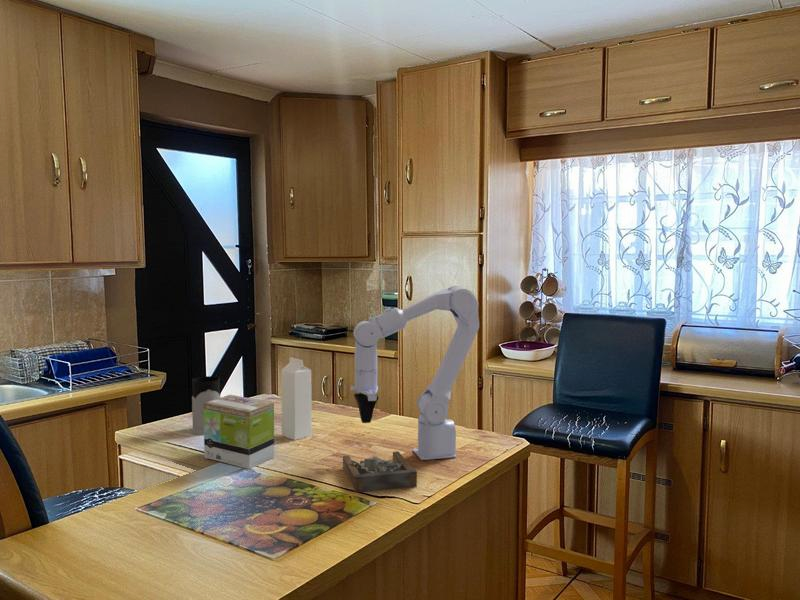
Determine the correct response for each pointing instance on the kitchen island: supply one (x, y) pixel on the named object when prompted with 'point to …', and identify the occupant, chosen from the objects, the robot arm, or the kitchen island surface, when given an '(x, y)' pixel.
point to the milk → (296, 400)
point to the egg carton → (376, 465)
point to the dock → (381, 476)
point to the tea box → (239, 431)
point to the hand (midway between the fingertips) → (366, 422)
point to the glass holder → (203, 399)
